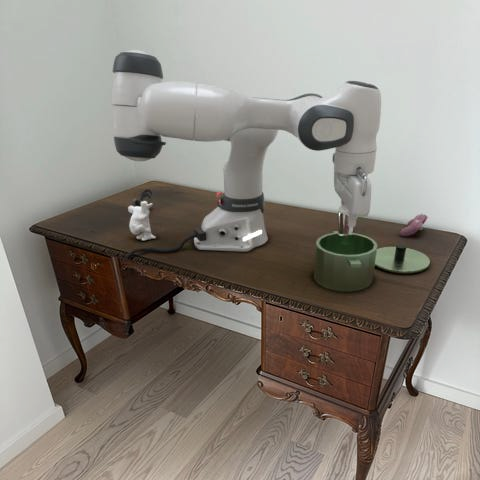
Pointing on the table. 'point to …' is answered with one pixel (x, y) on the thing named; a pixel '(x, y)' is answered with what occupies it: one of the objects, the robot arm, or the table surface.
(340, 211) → the milkshake
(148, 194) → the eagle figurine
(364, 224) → the table surface
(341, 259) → the pot
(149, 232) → the koala figurine
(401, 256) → the lid
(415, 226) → the video game controller
